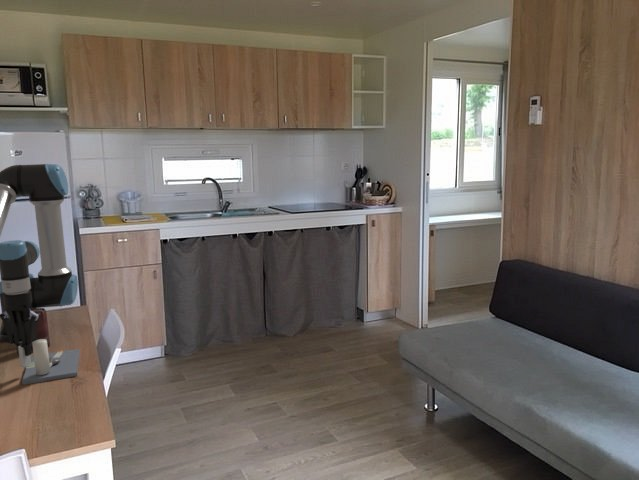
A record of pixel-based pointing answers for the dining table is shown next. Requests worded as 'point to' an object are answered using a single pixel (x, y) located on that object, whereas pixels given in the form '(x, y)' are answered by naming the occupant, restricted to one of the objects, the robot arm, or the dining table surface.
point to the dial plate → (54, 368)
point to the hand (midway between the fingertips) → (25, 365)
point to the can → (42, 326)
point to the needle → (43, 357)
